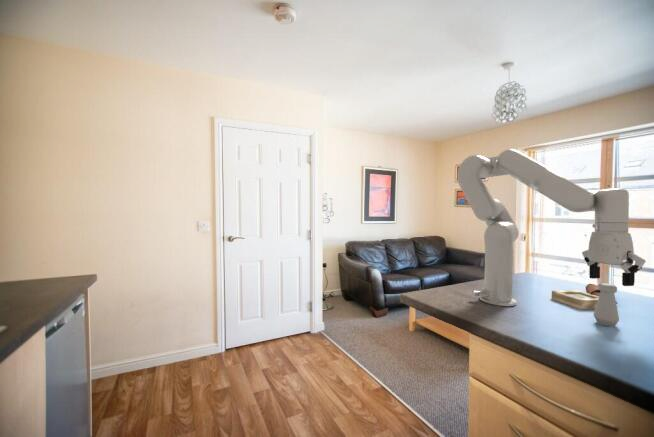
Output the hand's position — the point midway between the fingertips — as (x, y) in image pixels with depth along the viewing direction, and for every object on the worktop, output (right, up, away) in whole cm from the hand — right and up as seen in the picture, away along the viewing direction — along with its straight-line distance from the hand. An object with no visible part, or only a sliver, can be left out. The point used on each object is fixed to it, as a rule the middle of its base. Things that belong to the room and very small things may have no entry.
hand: (610, 281), depth 89 cm
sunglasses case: (+22, -13, +26) cm, 37 cm away
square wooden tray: (+9, -13, +21) cm, 26 cm away
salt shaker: (-1, -14, +1) cm, 14 cm away
